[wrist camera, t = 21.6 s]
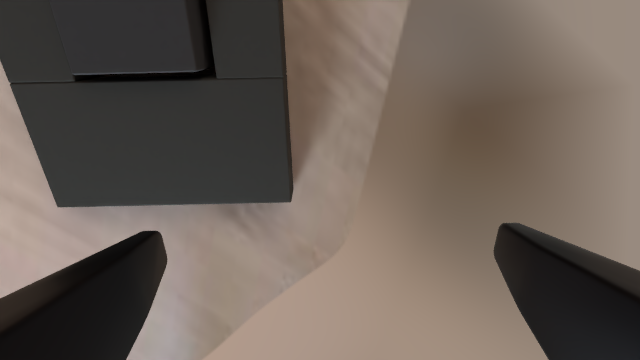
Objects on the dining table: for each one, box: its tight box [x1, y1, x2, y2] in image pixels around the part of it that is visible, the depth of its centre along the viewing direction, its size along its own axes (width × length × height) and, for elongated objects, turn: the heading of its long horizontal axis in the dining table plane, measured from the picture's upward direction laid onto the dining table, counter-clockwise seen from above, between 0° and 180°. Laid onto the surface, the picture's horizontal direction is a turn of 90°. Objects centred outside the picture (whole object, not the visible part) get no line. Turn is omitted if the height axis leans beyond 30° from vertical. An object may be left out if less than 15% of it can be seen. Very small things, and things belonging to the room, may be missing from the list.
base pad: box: [0, 0, 293, 207], centre depth 18 cm, size 14×14×2 cm
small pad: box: [49, 0, 215, 75], centre depth 16 cm, size 6×6×3 cm
